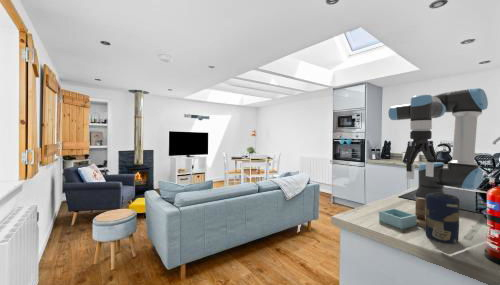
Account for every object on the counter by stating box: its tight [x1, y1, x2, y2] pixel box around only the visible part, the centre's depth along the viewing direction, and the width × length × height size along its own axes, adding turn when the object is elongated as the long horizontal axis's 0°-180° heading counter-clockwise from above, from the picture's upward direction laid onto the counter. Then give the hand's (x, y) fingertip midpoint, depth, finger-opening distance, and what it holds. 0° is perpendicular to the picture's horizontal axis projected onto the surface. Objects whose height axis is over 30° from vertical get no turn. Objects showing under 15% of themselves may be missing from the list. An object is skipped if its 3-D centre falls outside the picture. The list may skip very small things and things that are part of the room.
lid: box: [411, 197, 426, 229], centre depth 98 cm, size 11×11×10 cm
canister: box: [424, 192, 460, 244], centre depth 82 cm, size 10×10×18 cm
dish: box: [378, 208, 417, 230], centre depth 97 cm, size 10×10×5 cm
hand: (420, 177), depth 98 cm, fingers open, 13 cm apart
